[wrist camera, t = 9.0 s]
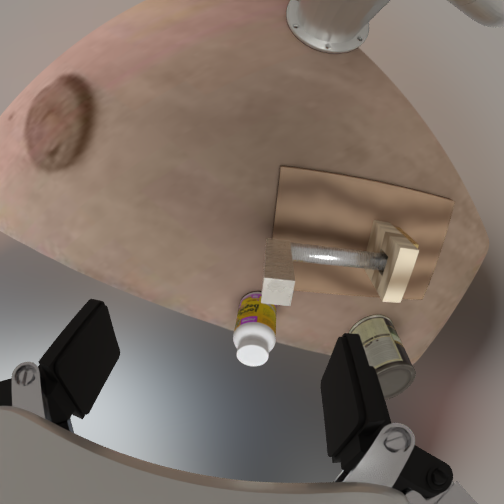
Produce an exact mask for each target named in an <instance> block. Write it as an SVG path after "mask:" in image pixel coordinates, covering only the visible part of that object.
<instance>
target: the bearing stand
mask: <svg viewBox="0 0 504 504" xmlns="http://www.w3.org/2000/svg"><path fill="white" fill-rule="evenodd" d="M454 203H455V201H453V200H451V199H448V198H444V197H441V196H437V195H433V194H430V193H426V192H422V191H418V190H414V189H410V188H406V187H402V186H397V185H393V184H388V183H384V182H379V181H374V180H369V179H364V178H359V177H354V176H348V175H342V174H337V173H331V172H324V171H318V170H311V169H304V168H296V167H289V166H281V167H280V176H279V184H278V193H277V202H276V210H275V218H274V227H273V235H272V239H279V240H287V241H290V242H292V243H301V244H310V245H318V246H327V247H335V248H343V249H352V250H360V251H368V252H376V253H384V254H386V255H387V256H388V259H387V263H386V266H385V269H384V271H382V270H372V269H363V268H353V267H344V266H334V265H325V264H315V263H306V262H297V261H293V267H294V275H295V285H294V291H305V292H316V293H327V294H339V295H352V296H365V297H380V298H381V300H382V302H398V303H400V302H401V300H402V299H413V300H422V299H423V297H424V295H425V292H426V290H427V287H428V285H429V282H430V280H431V277H432V275H433V272H434V269H435V266H436V264H437V261H438V258H439V255H440V252H441V249H442V246H443V243H444V240H445V236H446V233H447V230H448V226H449V222H450V219H451V215H452V211H453V207H454ZM395 227H399V228H401V229H402V230H403V231H404V232H405V233H407V234H408V235H409V236H410V237H411V238H412V239H413V240H414V241H415V242H416V243H417V244H419V246H418V249H417V248H416V247H415V246H414V245H413V244H412V243H411V242H410V241H409V240H408V239H407V238H406V237H405V236H404V235H403V234H402V233H401V232H400V231H398V230H397V229H396V228H395Z"/></svg>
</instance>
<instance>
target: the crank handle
mask: <svg viewBox="0 0 504 504" xmlns="http://www.w3.org/2000/svg"><path fill="white" fill-rule="evenodd" d="M387 259H388V256H387V255H386V254H384V253H376V252H368V251H360V250H352V249H343V248H335V247H327V246H318V245H310V244H301V243H292V242H290V241H287V240H279V239H270V238H267V239H266V246H265V256H264V269H263V282H262V295H261V303H265V304H274V305H284V306H290V305H291V300H292V295H293V290H294V285H295V275H294V267H293V261H297V262H306V263H315V264H325V265H334V266H344V267H353V268H363V269H372V270H382V271H384V269H385V266H386V263H387Z"/></svg>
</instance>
